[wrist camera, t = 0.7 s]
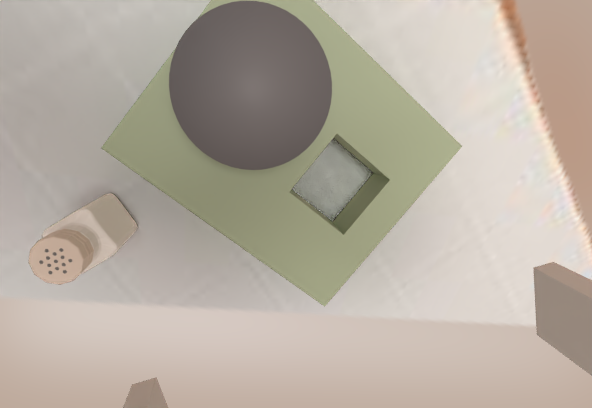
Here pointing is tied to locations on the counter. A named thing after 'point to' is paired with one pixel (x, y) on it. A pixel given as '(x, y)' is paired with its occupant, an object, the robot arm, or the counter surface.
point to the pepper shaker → (81, 240)
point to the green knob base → (280, 136)
